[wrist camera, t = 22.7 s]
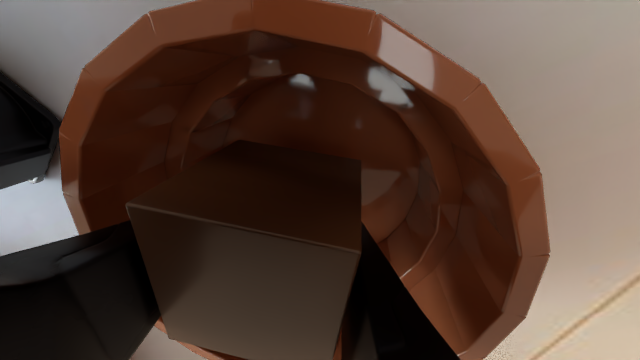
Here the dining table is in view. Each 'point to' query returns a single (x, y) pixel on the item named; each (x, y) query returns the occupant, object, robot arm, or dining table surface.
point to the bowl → (324, 143)
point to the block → (254, 250)
